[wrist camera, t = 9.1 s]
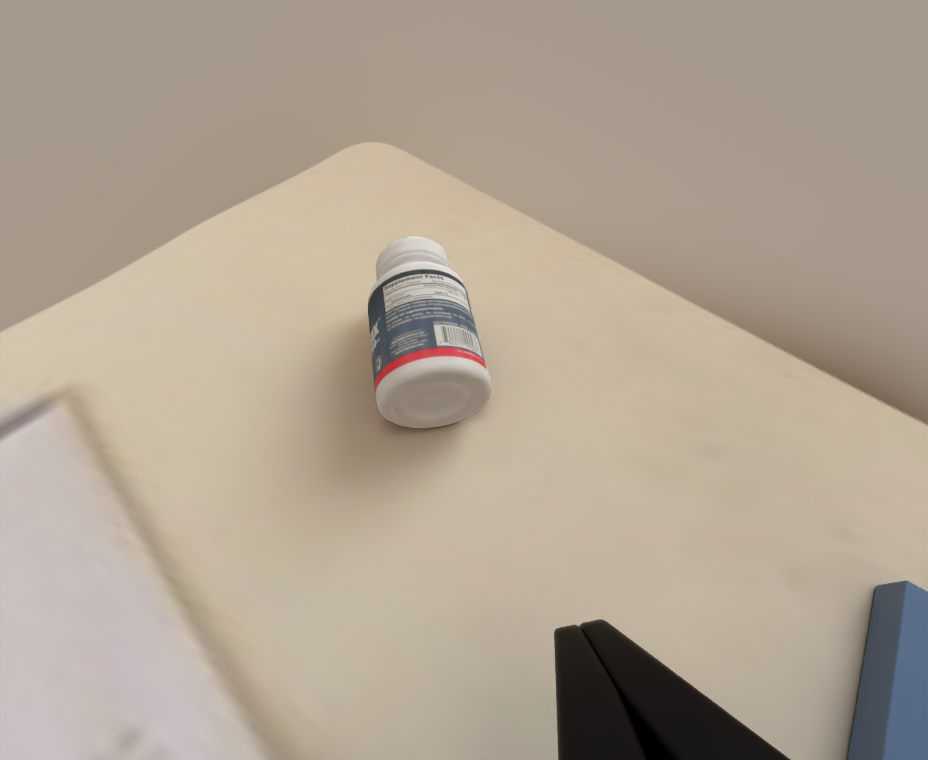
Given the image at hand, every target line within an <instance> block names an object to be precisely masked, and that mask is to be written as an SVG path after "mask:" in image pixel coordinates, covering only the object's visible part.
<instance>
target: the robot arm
mask: <svg viewBox="0 0 928 760" xmlns="http://www.w3.org/2000/svg"><path fill="white" fill-rule="evenodd" d="M554 641H555V671H556V701H557V731H558V760H790V759H789V758H788V757H786V756H785V755H784V754H782V753H781V752H780V751H778V750H777V749H776V748H774V747H773V746H772V745H770V744H769V743H768V742H766V741H765V740H764V739H762V738H761V737H760V736H758V735H757V734H756V733H754V732H753V731H752V730H750V729H749V728H748V727H746V726H745V725H744V724H742V723H741V722H740V721H738V720H737V719H736V718H734V717H733V716H732V715H730V714H729V713H728V712H726V711H725V710H724V709H722V708H721V707H720V706H718V705H717V704H716V703H714V702H713V701H712V700H710V699H709V698H708V697H706V696H705V695H704V694H702V693H701V692H700V691H698V690H697V689H696V688H694V687H693V686H692V685H690V684H689V683H688V682H686V681H685V680H684V679H682V678H681V677H680V676H678V675H677V674H676V673H674V672H673V671H672V670H670V669H669V668H668V667H666V666H665V665H664V664H662V663H661V662H660V661H658V660H657V659H656V658H654V657H653V656H652V655H650V654H649V653H648V652H646V651H645V650H644V649H642V648H641V647H640V646H638V645H637V644H636V643H634V642H633V641H632V640H630V639H629V638H628V637H626V636H625V635H624V634H622V633H621V632H620V631H618V630H617V629H616V628H614V627H613V626H612V625H610V624H609V623H608V622H606V621H604V620H595V621H590V622H585V623H582V624H581V625H580V626H577V625H571V626H566V627H561V628H557V629H556V630H555V632H554Z"/></svg>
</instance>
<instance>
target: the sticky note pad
mask: <svg viewBox="0 0 928 760" xmlns="http://www.w3.org/2000/svg"><path fill="white" fill-rule="evenodd" d="M847 760H928V592H927V591H925V590H923V589H921V588H920V587H918V586H916V585H914V584H912V583H910V582H909V581H901V582H895V583H889V584H883V585H877V586H876V590H875V596H874V602H873V608H872V614H871V620H870V626H869V632H868V638H867V644H866V650H865V656H864V662H863V668H862V674H861V680H860V686H859V693H858V699H857V705H856V711H855V717H854V723H853V729H852V735H851V741H850V747H849V753H848V759H847Z"/></svg>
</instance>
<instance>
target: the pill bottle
mask: <svg viewBox="0 0 928 760" xmlns="http://www.w3.org/2000/svg"><path fill="white" fill-rule="evenodd" d="M376 275H377V282H376V283H375V284H374V286H373V287H372V289H371V292H370V295H369V299H368V316H369V327H370V340H371V351H372V363H373V374H374V385H375V396H376V403H377V407H378V410H379V411H380V413H381V414H382V415H383V416H384V417H385V418H386V419H387V420H389V421H391V422H393V423H395V424H398V425H401V426H405V427H411V428H432V427H439V426H445V425H449V424H452V423H456V422H458V421H461V420H463V419H465V418H468V417H469V416H471V415H473V414H474V413H476V412H477V411H479V410H480V409H481V408H482V407H483V406H484V405H485V404H486V403H487V401H488V399H489V397H490V395H491V390H492V384H491V379H490V376H489V372H488V369H487V365H486V362H485V358H484V355H483V351H482V347H481V344H480V340H479V336H478V333H477V329H476V325H475V321H474V317H473V313H472V308H471V304H470V300H469V295H468V292H467V288H466V286H465V284H464V282H463V281H462V279H461V278H460V277H459V276H458V275H457V274H456V273H455V272H454V271H452V270H451V267H450V264H449V261H448V258H447V255H446V253H445V251H444V250H443V248H442V247H441V246H440V245H439V244H437V243H436V242H434V241H432V240H430V239H427V238H423V237H405V238H402V239H398V240H396V241H394V242H392V243H390V244H389V245H388V246H386V247H385V248H384V249H383V251H382V252H381V253H380V255H379V257H378V259H377V263H376Z"/></svg>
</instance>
